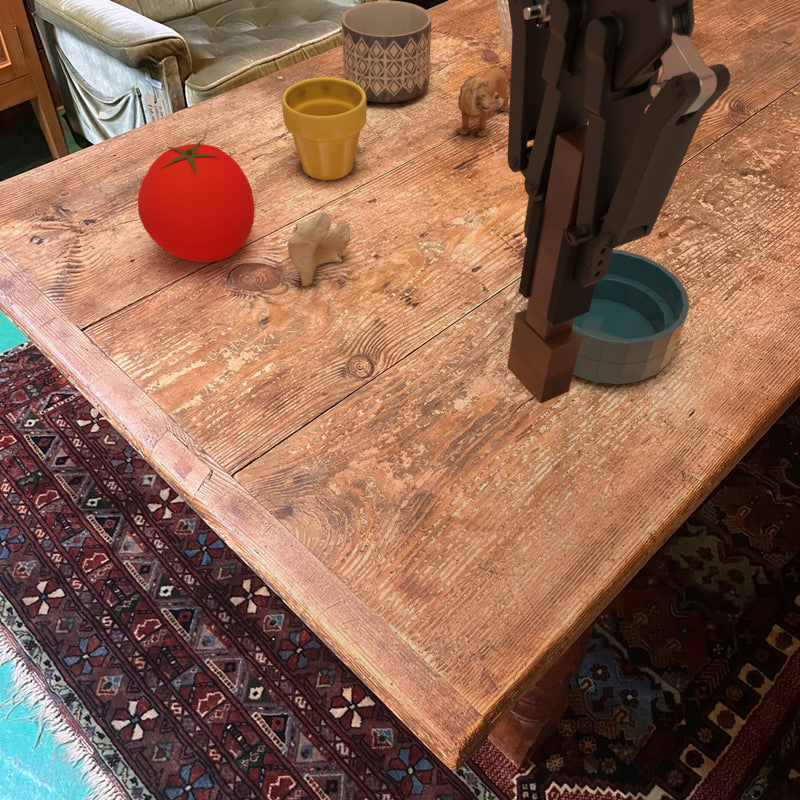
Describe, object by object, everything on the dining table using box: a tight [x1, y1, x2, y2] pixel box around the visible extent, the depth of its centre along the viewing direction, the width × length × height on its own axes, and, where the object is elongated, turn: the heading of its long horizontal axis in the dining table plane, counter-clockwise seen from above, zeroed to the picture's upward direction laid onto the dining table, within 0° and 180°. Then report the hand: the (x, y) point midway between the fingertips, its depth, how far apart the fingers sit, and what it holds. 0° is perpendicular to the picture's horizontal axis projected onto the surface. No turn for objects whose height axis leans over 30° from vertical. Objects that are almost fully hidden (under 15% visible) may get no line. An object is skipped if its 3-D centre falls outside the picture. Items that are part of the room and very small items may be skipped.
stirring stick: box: [506, 124, 588, 405], centre depth 46 cm, size 4×2×18 cm, turn 29°
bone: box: [287, 211, 351, 287], centre depth 84 cm, size 9×6×10 cm
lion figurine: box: [457, 66, 510, 137], centre depth 106 cm, size 15×5×9 cm, turn 161°
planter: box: [340, 0, 432, 104], centre depth 112 cm, size 13×13×10 cm
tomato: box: [137, 139, 256, 263], centre depth 84 cm, size 12×12×13 cm
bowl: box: [572, 248, 691, 385], centre depth 77 cm, size 14×14×6 cm
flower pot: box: [281, 76, 368, 181], centre depth 97 cm, size 10×10×10 cm
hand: (553, 301), depth 48 cm, fingers closed on stirring stick, 2 cm apart
